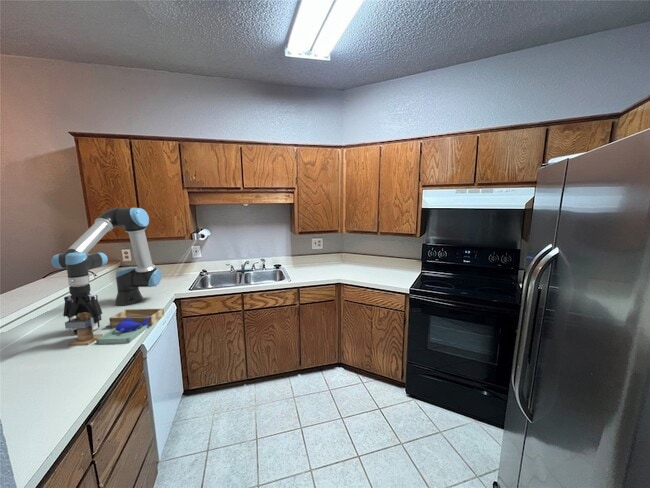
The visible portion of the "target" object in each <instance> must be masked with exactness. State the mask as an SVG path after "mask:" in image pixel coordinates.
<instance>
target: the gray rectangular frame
mask: <svg viewBox="0 0 650 488" xmlns="http://www.w3.org/2000/svg"><path fill="white" fill-rule="evenodd" d="M91 317H92V315H91V316H89V317H87V319H88V320H80V318H79V317H76V318H74V319H72V320H69V319H68V321H66V322H64V327H65V330H67V329H69V330H71V329H75V328H87V327H89V326H91V325H92V324H91ZM98 319H99V322H100V321H102V314H101V315H98Z"/></svg>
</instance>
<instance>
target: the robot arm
mask: <svg viewBox="0 0 650 488" xmlns="http://www.w3.org/2000/svg"><path fill="white" fill-rule="evenodd" d="M149 217H150V216H149V214H148V213H147V211H146V210H145V209H143V208H141V207H115V208H111V209H108V210H106V211H105V212H103V213H102V214H100V215H99V216H98V217H97V218H95V219H94V223H93V224H92V225H91V226H90V227H89V228H88V229H87V230H86V231H85V232H84V233H83V234H82V235H81V236H80V237H78V239H77V240H76V241H75V242H74V243H72V244H71V246H70V247H69V248H67V250H65V251H64V252H63V253H58V254H55V255H53V256H52V257H51V260H50V261H51V265H52V266H53V267H54V268H55V269H60V270H61V269H62V270H63V269H64V270H65V269H66V273H67V280H68V281H67V282H68V291H69V294H70V295H66V296H64V297H63V299H64V306H63V315H62V316H63V317H67V319H68V321H69V320H72V319H74V318H76V316H74V315H75V312H76V310H77V307H78V305H79V304H83V305H84V306H86V308H87V309H88V311H89V312H90V314H91V315H92V317H91V324H92V330H95V329H97V328H98V323H97V322H99V323H100V321H99V319H98V315H101V316H102V315H103V311H102V308H101V305H100V302H99V300H98V299H99V297H98V295H97V294H91V284H90V283H91V282H90V274H89V270H93V269H97V268H101V267H104V266H106V265H107V263H108V262H109V260H108V255H106V254H105V253H103V252H100V251H99V252H94V253H93V252H92V253H89V252H90V251H91V250H92V249H93V248H94V247H95V245H97V243H99V241H100V240H102V238H103V237H104V236H105V235H106V234H107V233H108V232H111V231H112V230H114V228H118V227H119V228H120V227H121V228H123V230H124V232H125V233H127V234H128V236H129V240H130V243H131V248H132V251H133V256H134V259H135V263H136V266H134V267H133V266H132V267H127V268H122V269H118V270H117V271H116V272H115V280H116V288H117V294H116V297H115V305H116V306H121V307H122V306H131V305H134V304H135V305H136V304H138V303H141V302H142V301H143V299H144V298H143V296H142V293H141V291H140V289H139V288H153V287H157V286H158V285H160V283H161V280H162V277H163V276H162V275H163V273H162V271H161V269H157V266H156V265H155V264H153V261H152V255H151V253H150V248H149V244H148V240H147V235H146V231H145V230H146V229H147V227H148V226H149V224H150V218H149ZM93 295H95V296H93ZM72 300H73V302H72ZM87 302H88V303H87ZM71 304H72V306H71ZM76 329H77V328H75V329H70V330H71V331H72V332H73V331H74V330H76ZM98 329H99V328H98ZM98 329H97V330H98ZM95 331H96V330H95Z"/></svg>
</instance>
